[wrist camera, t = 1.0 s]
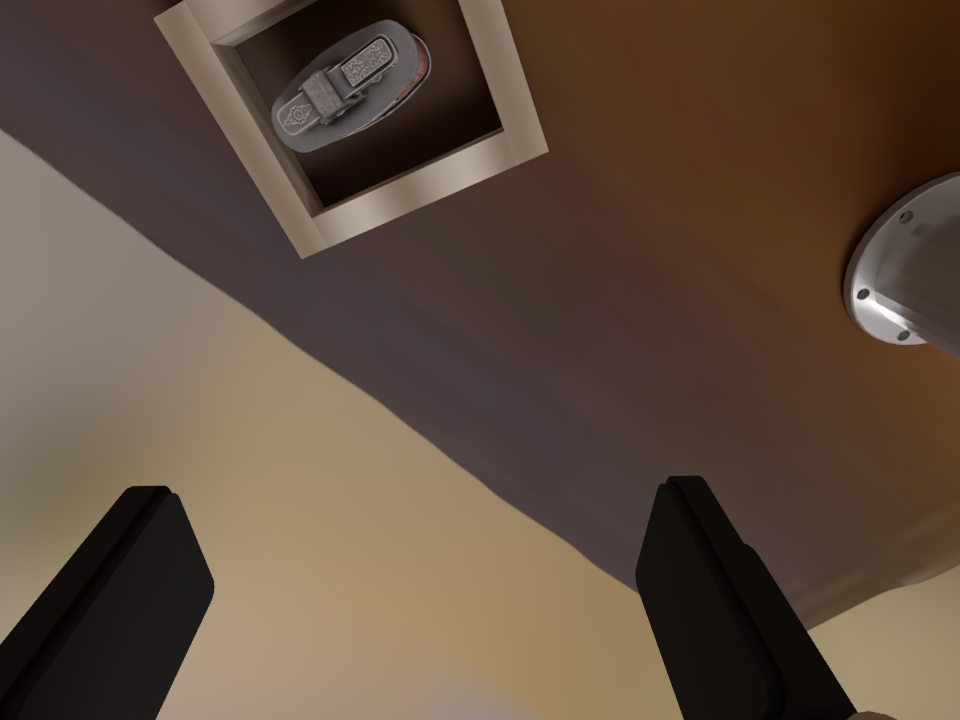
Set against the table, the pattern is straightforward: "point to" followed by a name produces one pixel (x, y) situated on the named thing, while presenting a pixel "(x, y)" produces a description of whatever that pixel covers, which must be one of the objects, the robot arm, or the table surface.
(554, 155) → the table surface
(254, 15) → the slot holder
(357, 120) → the lighter
